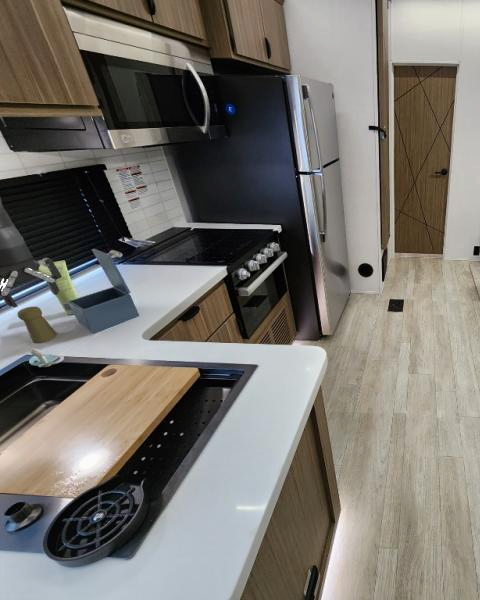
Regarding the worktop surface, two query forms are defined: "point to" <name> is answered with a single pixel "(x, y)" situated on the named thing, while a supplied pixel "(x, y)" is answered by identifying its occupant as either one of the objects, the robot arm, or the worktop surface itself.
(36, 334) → the cork
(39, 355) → the pacifier
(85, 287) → the worktop surface
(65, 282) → the tube
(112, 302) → the blue-grey open box
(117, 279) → the hinged box lid
